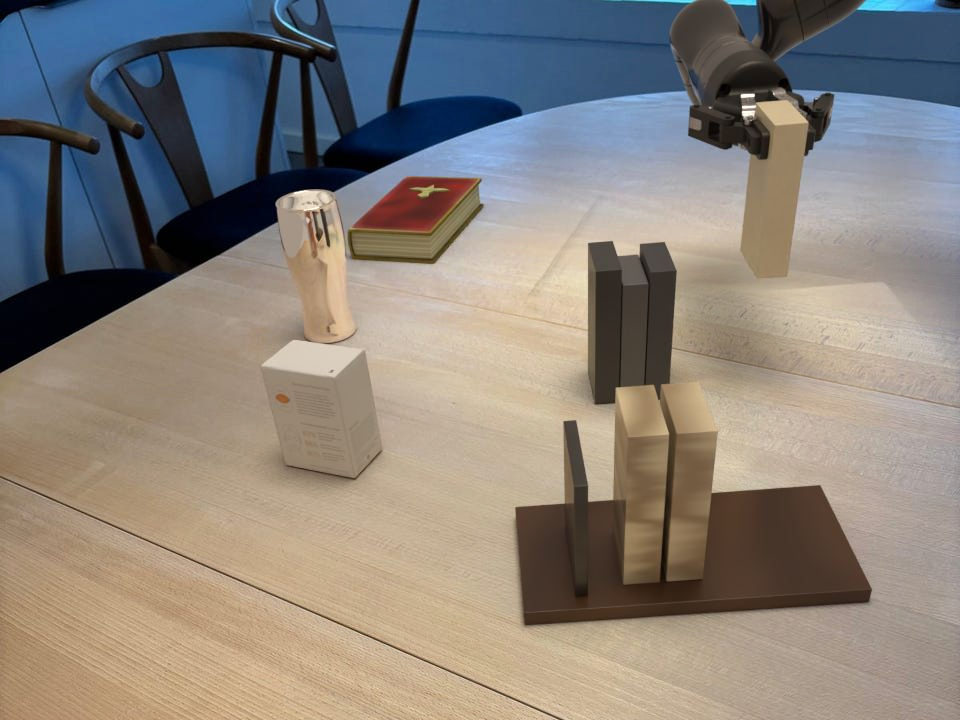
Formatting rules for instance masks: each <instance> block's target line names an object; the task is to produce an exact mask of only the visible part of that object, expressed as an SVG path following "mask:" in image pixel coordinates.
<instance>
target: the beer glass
mask: <svg viewBox="0 0 960 720" xmlns="http://www.w3.org/2000/svg"><path fill="white" fill-rule="evenodd" d="M275 208H276V217H277V223H278V231H279V237H280V242H281V243H280V244H281V248H282V251H283V252H282V253H283V256H284V259H285V261H286V265H287V268H288V271H289V273H290V276H291V279H292V281H293V283H294V286H295V289H296V291H297V294H298V297H299V299H300V304H301V308H302V313H303V335H304V337H305V339H306V340H307V341H308V342H314V343H322V344H332V343H338V342H341V341H344V340H346V339H349V338H350V337H351V336H353V335H354V334H355V332H356V330H357V326H356V322H355V319H354V316H353V314H352V312H351V308H350V305H349V300H348V291H347V290H348V286H347V284H348V283H347V282H348V281H347V279H348V274H347V273H348V272H347V271H348V269H347V268H348V267H347V263H348V260H347V258H348V257H347V244H346V236H345V230H344V225H343V220H342V216H341V212H340V208H339V203H338V200H337V194H336V193H334V192H332V191H331V190H327V189H318V188H317V189H303V190H298V191H293V192H289V193H288V194H285V195H283V196H281V197H279V198H278V199H277V200H276V201H275Z"/></svg>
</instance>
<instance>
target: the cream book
mask: <svg viewBox="0 0 960 720" xmlns="http://www.w3.org/2000/svg"><path fill="white" fill-rule="evenodd" d="M755 113H756V115H757V121H761V122H762V123H763V125H764V126H765V127H766V128H767V129H768V131H769V132H770V143H769V151H768V158H767V159H766V160H758V158H757V157H756V156H755V155H752V154H749V163H748V164H749V165H748V174H747V183H746V193H745V200H744V201H745V202H744V209H743V210H744V211H743V221H742V230H741V240H740V247H739V249H740V250H739V251H740V252H741V255H742V256H743V258H744V259H745V261H746V263H747V265H748V266H749V268H750V270H751V272H752V274H753V276H755V279H756V280H764V279H774V278H775V279H776V278H786V277H788V272H789V265H790V258H791V253H792V244H793V238H794V237H793V236H794V231H795V224H796V217H797V216H796V215H797V209H798V201H799V196H800V187H801V180H802V173H803V168H804V167H803V166H804V161H805V156H804V153H805V146H806V138H807V131H808V124H809V122H808V121H807V120H806V119H805V118H804V117H803V116H802V115H801V114H800V113H799V112H798V111H797V110H796V108H795V107H794V106H793V105H792V104H791V103H790V102H789V101H788V100H781V101H769V102H758V103H756V106H755Z"/></svg>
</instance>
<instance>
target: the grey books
mask: <svg viewBox="0 0 960 720" xmlns="http://www.w3.org/2000/svg"><path fill="white" fill-rule="evenodd" d="M677 273H678V270H677V268H676V266H675V263H674V261H673V258H672V256H671V254H670V251H669V249H668V246H667V244H666V242H665V241H659V242H657V241H656V242H647V243H640V244H639V254H628V255H627V254H626V255H618V252H617V250H616V247H615V244H614V241H613V240H606V241H595V242H594V241H593V242H592V241H591V242H587V374H588V379H589V384H590V389H591V393H592V396H593V402H594V404H595V405H602V404H615V393H616V388H618V387H631V386H644V385H654V387H655V390H656V394H657V397H658V400H660V392H661V385H662V384H671V383H670V382H671V368H672V353H673V352H672V351H673V336H674V321H675V320H674V319H675V307H676V306H675V305H676V288H677Z"/></svg>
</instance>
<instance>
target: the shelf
mask: <svg viewBox="0 0 960 720" xmlns="http://www.w3.org/2000/svg"><path fill="white" fill-rule="evenodd" d="M562 425H563V426H562V428H563V429H562V430H563V431H562V432H563V479H564V481H563V483H564V484H563V485H564V487H563V488H564V503H552V504H539V505H537V504H536V505H524V506H515V509H514V513H515V524H516V539H517V550H518V551H517V552H518V562H519V563H518V564H519V575H520V576H519V577H520V587H521V589H520V590H521V601H522V602H521V603H522V613H523V624H524V625H538V624H539V625H540V624H552V623H553V624H554V623H568V622H571V623H572V622H584V621H585V622H586V621H600V620H615V619H627V618H641V617H658V616H671V615H684V614H685V615H686V614H688V615H689V614H701V613H717V612H731V611H745V610H746V611H747V610H761V609H774V608H789V607H790V608H793V607H804V606H805V607H806V606H820V605H821V606H823V605H834V604H835V605H836V604H849V603H850V604H851V603H864V602H870V600H871V595H872V592H873V589H872V588H873V587H872V586H871V584H870V582H869V580H868V578H867V576H866V574H865V572H864V570H863V568H862V566H861V564H860V562H859V560H858V558H857V556H856V554H855V552H854V550H853V548H852V546H851V544H850V541H849V540H848V538H847V536H846V534H845V532H844V530H843V527H842V526H841V524H840V521H839V519H838V518H837V515H836V514H835V512H834V510H833V507H832V505H831V504H830V501H829V500H828V498H827V496H826V493H825V491H824V490H823V487H822V486H821V485H820V484H817V485H801V486H789V487H787V486H786V487H773V488H772V487H771V488H759V489H747V490H733V491H719V492H713V482H714V473H715V463H716V455H717V454H716V453H717V444H718V435H719V430H718V427H717V425H716V422H715V420H714V417H713V414H712V412H711V408H710V406H709V404H708V401H707V399H706V396H705V393H704V391H703V387H702V386H701V384H700V381H690V382H689V381H688V382H676V383H675V382H673V383H670V384H662V385H661V392H660V399H658V397H657V394H656V390H655V387H654V385H644V386H631V387H618V388H616V393H615V403H614V441H613V442H614V443H613V484H612V485H613V486H612V487H613V489H612V491H613V492H612V499H608V500H607V499H606V500H594V501H589V483H588V477H587V472H586V466H585V461H584V456H583V455H584V454H583V449H582V444H581V437H580V432H579V428H578V421H577V420H576V419H574V420H572V419H571V420H563V422H562Z"/></svg>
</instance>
